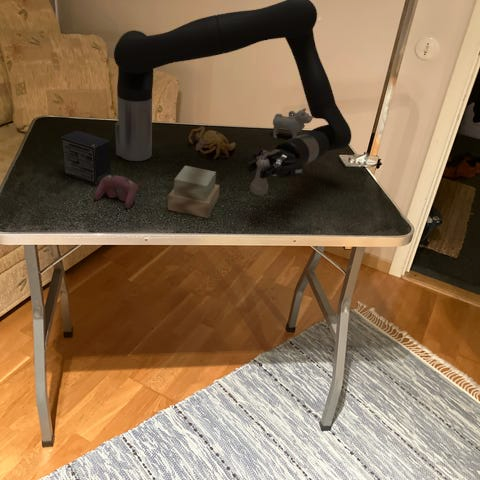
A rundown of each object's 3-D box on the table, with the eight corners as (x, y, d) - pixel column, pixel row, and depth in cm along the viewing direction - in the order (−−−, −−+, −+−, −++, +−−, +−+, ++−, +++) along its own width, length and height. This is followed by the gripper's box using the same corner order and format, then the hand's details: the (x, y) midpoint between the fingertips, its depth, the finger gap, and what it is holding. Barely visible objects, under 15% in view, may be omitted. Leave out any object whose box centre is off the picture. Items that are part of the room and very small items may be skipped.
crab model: (244, 156, 151) (246, 139, 148) (209, 163, 144) (211, 145, 141) (217, 137, 161) (218, 121, 158) (182, 142, 154) (183, 125, 151)
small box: (112, 176, 131) (110, 139, 125) (96, 186, 126) (94, 147, 120) (80, 165, 134) (77, 128, 128) (63, 174, 129) (59, 136, 123)
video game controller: (136, 209, 122) (142, 181, 121) (128, 209, 117) (134, 180, 116) (100, 199, 124) (106, 171, 123) (91, 199, 119) (97, 170, 118)
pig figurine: (307, 144, 163) (313, 113, 157) (269, 137, 165) (274, 106, 159) (309, 139, 167) (315, 108, 161) (272, 131, 169) (277, 101, 163)
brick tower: (167, 209, 120) (168, 180, 115) (181, 191, 128) (182, 163, 124) (207, 218, 119) (210, 188, 114) (218, 199, 127) (221, 171, 122)
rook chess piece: (266, 197, 115) (271, 166, 111) (247, 193, 116) (252, 162, 111) (269, 188, 119) (274, 158, 114) (251, 184, 119) (255, 154, 115)
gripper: (277, 128, 125) (233, 145, 113) (324, 148, 118) (282, 168, 106) (272, 155, 129) (229, 174, 117) (317, 176, 122) (276, 198, 110)
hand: (254, 171), depth 112 cm, fingers closed on rook chess piece, 3 cm apart
